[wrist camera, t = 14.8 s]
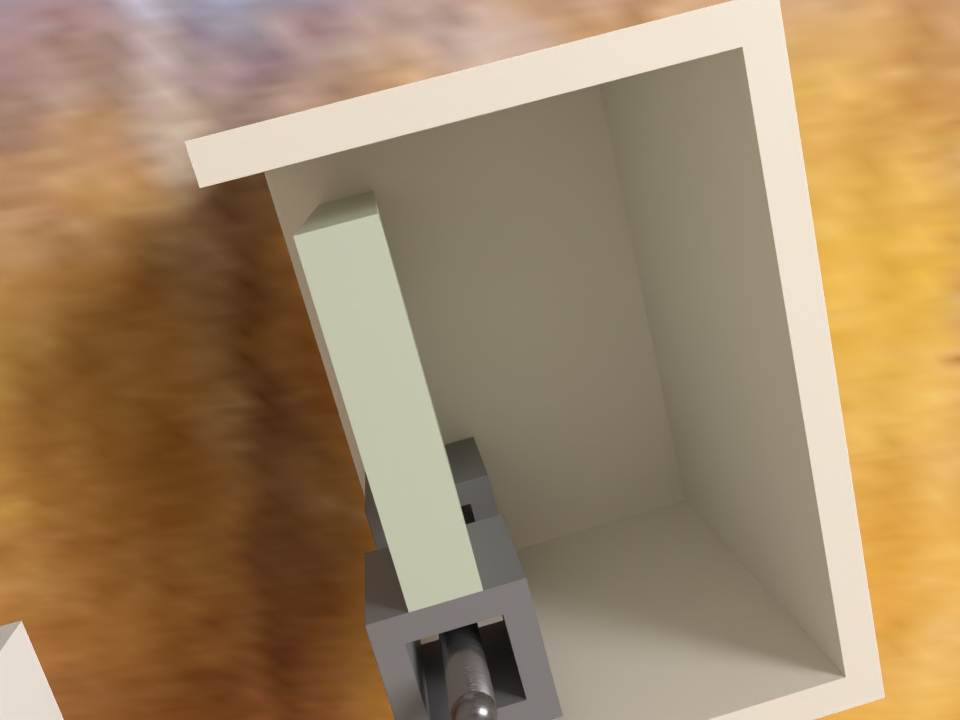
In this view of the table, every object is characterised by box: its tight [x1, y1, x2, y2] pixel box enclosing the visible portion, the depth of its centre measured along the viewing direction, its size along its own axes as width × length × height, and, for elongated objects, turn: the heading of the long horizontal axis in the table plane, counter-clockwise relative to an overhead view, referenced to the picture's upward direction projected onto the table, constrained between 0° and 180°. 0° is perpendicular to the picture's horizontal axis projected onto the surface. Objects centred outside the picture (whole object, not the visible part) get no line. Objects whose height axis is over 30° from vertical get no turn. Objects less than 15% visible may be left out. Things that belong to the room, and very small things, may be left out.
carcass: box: [185, 0, 885, 720], centre depth 34 cm, size 23×16×16 cm
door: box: [293, 190, 563, 720], centre depth 33 cm, size 17×5×14 cm, turn 14°
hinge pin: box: [438, 623, 498, 720], centre depth 34 cm, size 1×1×17 cm
